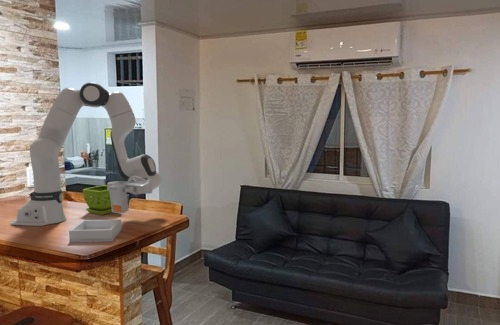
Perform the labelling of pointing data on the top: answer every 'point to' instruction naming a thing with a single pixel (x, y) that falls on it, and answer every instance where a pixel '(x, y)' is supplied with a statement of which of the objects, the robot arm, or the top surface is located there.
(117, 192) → the skincare box
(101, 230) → the grey square tray
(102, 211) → the flower pot
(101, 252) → the top surface
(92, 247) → the top surface
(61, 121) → the robot arm
